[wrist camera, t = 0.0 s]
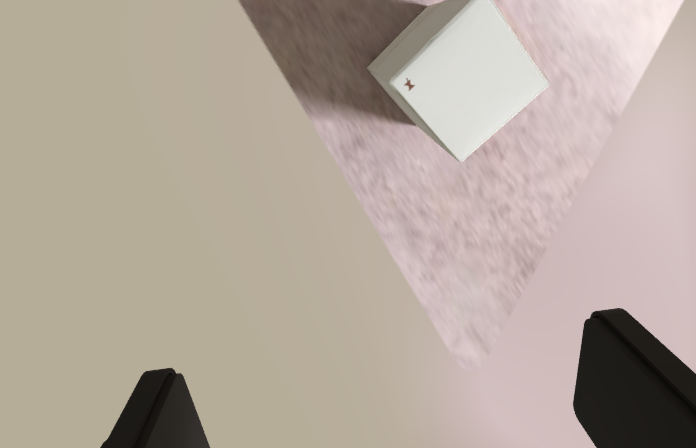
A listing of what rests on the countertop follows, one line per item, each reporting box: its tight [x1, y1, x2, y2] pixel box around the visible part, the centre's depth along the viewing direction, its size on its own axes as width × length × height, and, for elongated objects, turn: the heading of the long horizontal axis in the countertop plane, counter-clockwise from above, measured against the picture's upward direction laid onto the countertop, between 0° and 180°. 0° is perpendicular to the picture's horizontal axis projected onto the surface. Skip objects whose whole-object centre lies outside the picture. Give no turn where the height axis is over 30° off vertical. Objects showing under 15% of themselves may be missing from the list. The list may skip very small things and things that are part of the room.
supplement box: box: [367, 0, 549, 162], centre depth 31 cm, size 7×7×13 cm
